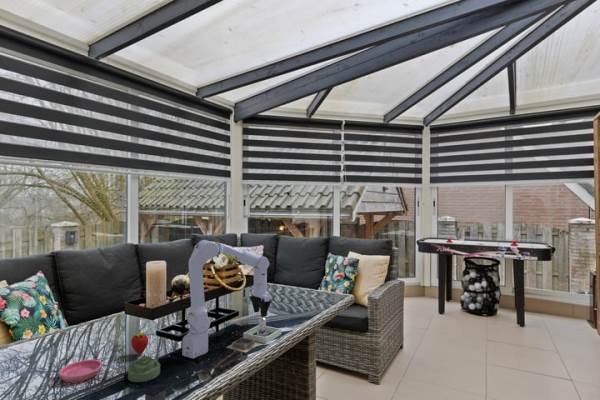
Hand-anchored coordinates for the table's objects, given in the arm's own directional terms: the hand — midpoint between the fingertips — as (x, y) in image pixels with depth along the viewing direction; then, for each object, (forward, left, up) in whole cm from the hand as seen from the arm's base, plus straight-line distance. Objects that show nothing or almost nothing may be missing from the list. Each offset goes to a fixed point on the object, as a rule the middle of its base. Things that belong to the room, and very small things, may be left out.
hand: (260, 314), depth 148 cm
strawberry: (-36, +31, -10) cm, 49 cm away
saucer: (-56, +34, -11) cm, 67 cm away
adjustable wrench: (+19, +22, -11) cm, 31 cm away
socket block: (-11, 0, -10) cm, 15 cm away
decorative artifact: (-46, +16, -11) cm, 49 cm away
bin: (+1, -1, -10) cm, 10 cm away
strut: (0, -1, -10) cm, 10 cm away
